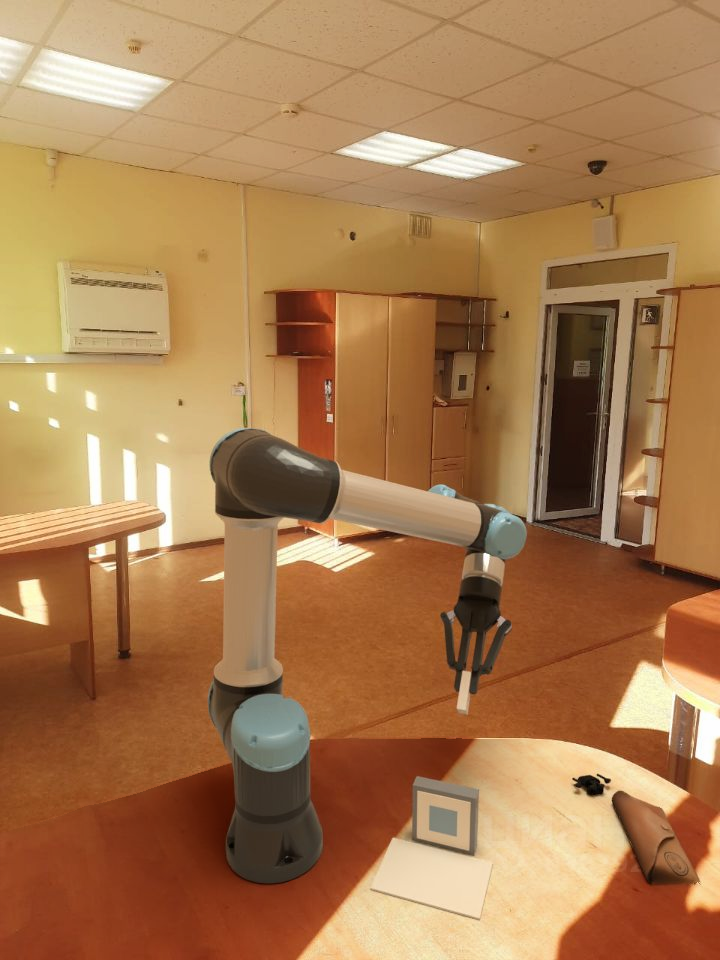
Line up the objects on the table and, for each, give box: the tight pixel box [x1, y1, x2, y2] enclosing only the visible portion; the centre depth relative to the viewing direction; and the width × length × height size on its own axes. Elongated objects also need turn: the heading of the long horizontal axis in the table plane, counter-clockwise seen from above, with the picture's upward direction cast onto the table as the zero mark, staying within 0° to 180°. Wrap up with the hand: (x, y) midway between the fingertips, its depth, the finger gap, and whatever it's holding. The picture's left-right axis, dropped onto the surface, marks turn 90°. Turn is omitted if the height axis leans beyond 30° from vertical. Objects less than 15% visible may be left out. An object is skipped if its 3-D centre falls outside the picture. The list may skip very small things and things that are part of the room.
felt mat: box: [369, 837, 494, 921], centre depth 102 cm, size 16×11×1 cm
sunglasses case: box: [611, 789, 701, 886], centre depth 109 cm, size 18×7×7 cm
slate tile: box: [411, 775, 480, 857], centre depth 108 cm, size 10×3×10 cm, turn 70°
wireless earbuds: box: [571, 773, 612, 797], centre depth 122 cm, size 7×2×5 cm
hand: (462, 711), depth 115 cm, fingers closed
